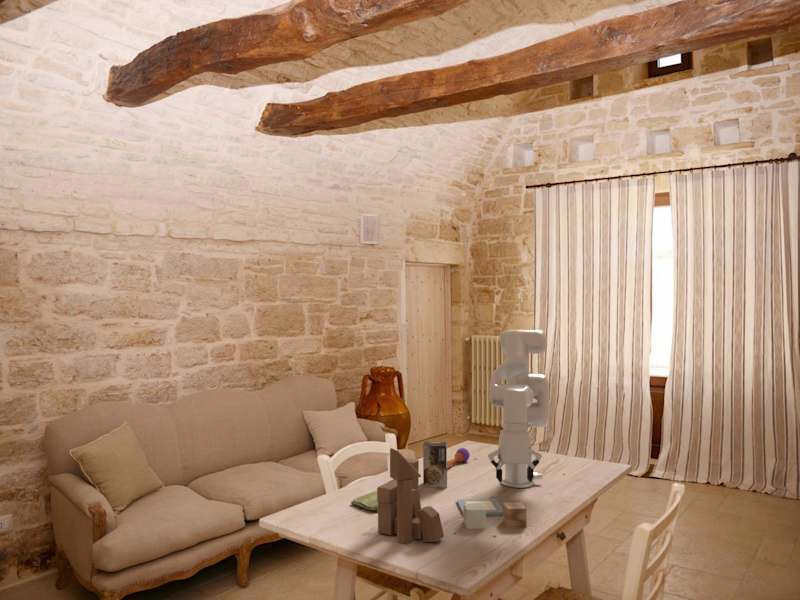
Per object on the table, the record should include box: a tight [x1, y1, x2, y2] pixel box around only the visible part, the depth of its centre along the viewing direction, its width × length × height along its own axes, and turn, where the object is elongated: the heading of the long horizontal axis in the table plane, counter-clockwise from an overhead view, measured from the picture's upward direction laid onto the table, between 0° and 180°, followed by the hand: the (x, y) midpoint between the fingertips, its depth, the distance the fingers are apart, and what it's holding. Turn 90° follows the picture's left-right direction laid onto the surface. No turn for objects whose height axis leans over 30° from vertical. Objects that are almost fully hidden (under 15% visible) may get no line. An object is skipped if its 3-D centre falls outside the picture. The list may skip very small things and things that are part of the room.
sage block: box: [463, 503, 487, 530], centre depth 203 cm, size 6×6×6 cm
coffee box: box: [422, 441, 448, 489], centre depth 244 cm, size 9×6×16 cm
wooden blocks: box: [376, 447, 445, 544], centre depth 196 cm, size 24×20×28 cm
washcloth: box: [350, 490, 378, 514], centre depth 223 cm, size 13×18×3 cm
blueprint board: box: [456, 497, 503, 517], centre depth 218 cm, size 14×14×1 cm
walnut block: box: [502, 501, 527, 529], centre depth 204 cm, size 6×6×6 cm
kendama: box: [447, 447, 471, 470], centre depth 272 cm, size 6×6×20 cm
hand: (514, 480), depth 203 cm, fingers open, 9 cm apart
